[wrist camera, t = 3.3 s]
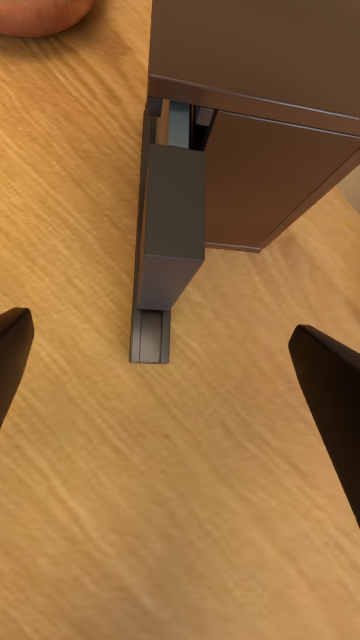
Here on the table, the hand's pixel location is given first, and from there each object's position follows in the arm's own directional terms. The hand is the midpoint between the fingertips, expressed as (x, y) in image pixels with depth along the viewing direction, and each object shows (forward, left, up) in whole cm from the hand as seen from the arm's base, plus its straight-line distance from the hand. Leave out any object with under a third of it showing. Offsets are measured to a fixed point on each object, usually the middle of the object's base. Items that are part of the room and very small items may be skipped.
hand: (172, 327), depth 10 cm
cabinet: (+5, -9, -12) cm, 15 cm away
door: (+8, -7, -10) cm, 15 cm away
